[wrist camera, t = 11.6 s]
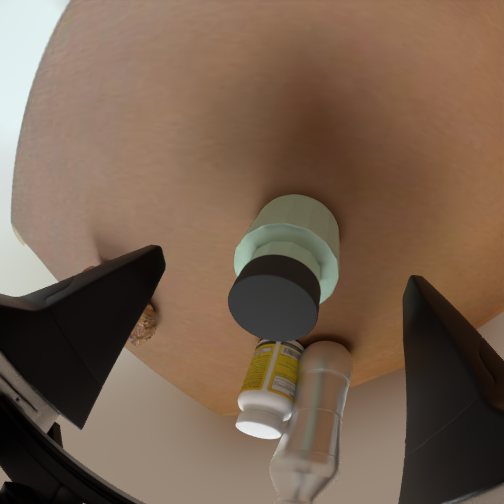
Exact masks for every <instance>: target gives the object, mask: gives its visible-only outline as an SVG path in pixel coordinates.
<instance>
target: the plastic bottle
mask: <svg viewBox="0 0 504 504" xmlns="http://www.w3.org/2000/svg"><path fill="white" fill-rule="evenodd" d="M352 373H353V363H352V357H351V354H350V353H349V352H348V350H347V349H346V348H345V347H344V346H342V345H341V344H339V343H336V342H332V341H319V342H315V343H313V344H311V345H309V346H308V347H307V348H305V349H304V350H303V351H302V353H301V355H300V357H299V360H298V365H297V382H296V388H295V394H294V401H293V406H292V410H291V413H290V418H289V420H288V422H287V426H286V429H285V432H284V434H283V436H282V438H281V441H280V443H279V445H278V447H277V449H276V451H275V454H274V456H273V457H272V460H271V462H270V476H271V479H272V482H273V485H274V487H275V489H276V491H277V493H278V499H277V500H274V501H273V504H314V503H315V501H316V499H317V498H319V497H320V496H321V495H322V494H323V493H325V491H327V490H328V489H329V488H330V487H331V486H332V485H333V484H334V482H335V481H336V479H337V477H338V476H339V474H340V467H341V463H340V462H341V431H342V421H343V410H344V406H345V401H346V396H347V391H348V387H349V384H350V381H351V377H352Z"/></svg>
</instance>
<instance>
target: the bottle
mask: <svg viewBox="0 0 504 504" xmlns="http://www.w3.org/2000/svg"><path fill="white" fill-rule="evenodd" d="M339 252H340V240H339V229H338V225H337V222H336V220H335V218H334V216H333V215H332V213H331V212H330V211H329V209H328V208H327V207H326V206H324V205H323V204H322V203H320V202H319V201H317V200H315V199H313V198H311V197H308V196H304V195H296V194H292V195H284V196H281V197H278V198H276V199H274V200H272V201H270V202H269V203H268V204H267V205H265V206H264V207H263V209H262V210H261V211H260V213H259V214H258V216H257V217H256V219H255V220H254V222H253V223H252V225H251V226H250V228H249V229H248V231H247V232H246V234H245V235H244V237H243V239H242V240H241V242H240V243H239V245H238V246H237V248H236V250H235V259H234V268H235V271H236V275H237V277H238V276H239V274H240V272H241V270H242V269H243V267H244V266H245V265H246V264H247V263H248V262H249V261H251V260H253V259H254V258H257V257H259V256H263V255H270V254H277V255H284V256H288V257H291V258H294V259H296V260H298V261H300V262H302V263H303V264H305V265H306V266H307V267H308V268H309V269H310V270H311V271H312V272H313V273H314V274H315V276H316V277H317V279H318V281H319V284H320V288H321V297H320V304H321V303H322V302H323V301H325V300H326V299H327V298H328V297H329V296H330V295H331V294H332V293H333V291H334V288H335V286H336V284H337V281H338V279H339ZM320 304H319V305H320Z"/></svg>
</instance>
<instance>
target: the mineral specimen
mask: <svg viewBox="0 0 504 504" xmlns="http://www.w3.org/2000/svg"><path fill="white" fill-rule="evenodd" d="M91 268H94V266H90V267H89V268H87V269H85V270H84V271H86V270H89V269H91ZM84 271H83V272H84ZM154 316H155V311H154V310H153V307H152V306H151V305H150V304H148V305H147V307H146V309H145V310H144V312H143V314H142V315H141V317H140V319H139V321H138V322H137V324H136V326H135V328H134V329H133V331H132V333H131V335H130V336H129V338H128V340H129V341H131V343H132V344H134V345H135V346H139V345H141V344H143V343H144V342H145V341H147V340H148V339H150V338H151V336H152V335H153V334H154V333H155V330H156V326H157V322H156V320H155V319H153V318H154Z"/></svg>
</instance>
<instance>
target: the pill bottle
mask: <svg viewBox="0 0 504 504" xmlns="http://www.w3.org/2000/svg"><path fill="white" fill-rule="evenodd" d="M303 350H304V348H303V347H302V345H300V344H299V343H298V342H296V341H294V340H293V341H287V342H276V341H269V340H265V339H263V340H261V341H260V342H259V343H258V345H257V347H256V350H255V353H254V355H253V358H252V361H251V364H250V366H249V369H248V372H247V374H246V377H245V380H244V383H243V386H242V388H241V391H240V394H239V397H238V405H239V407H240V409H241V410H242V412H241V413H240V414H239V416H238V419H237V422H236V427H237V428H238V429H239V430H240V431H242V432H244V433H246V434H248V435H251V436H255V437H259V438H265V439H275V438H279V437H280V436H281V434H282V432H283V428H284V422H283V421H285V420H288V419H289V418H290V413H291V410H292V406H293V401H294V394H295V388H296V382H297V365H298V360H299V357H300V355H301V353H302V351H303Z"/></svg>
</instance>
